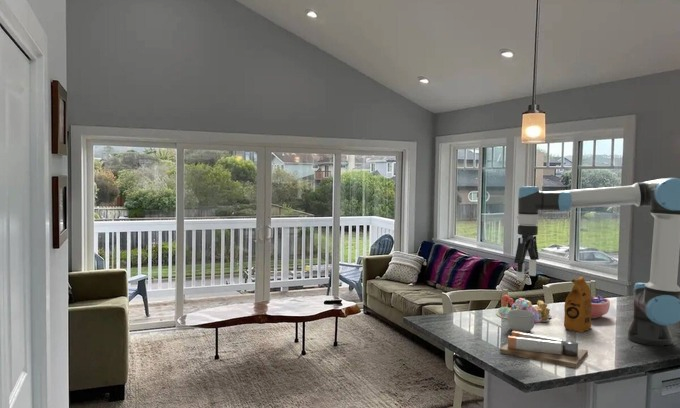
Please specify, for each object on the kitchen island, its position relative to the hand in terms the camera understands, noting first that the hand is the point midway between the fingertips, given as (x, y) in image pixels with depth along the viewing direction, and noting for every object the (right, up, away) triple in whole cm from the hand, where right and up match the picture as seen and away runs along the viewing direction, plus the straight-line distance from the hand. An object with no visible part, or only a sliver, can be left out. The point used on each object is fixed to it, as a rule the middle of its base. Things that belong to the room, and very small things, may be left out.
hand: (526, 277), depth 205 cm
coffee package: (+28, -25, +17) cm, 41 cm away
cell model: (+43, -24, +37) cm, 61 cm away
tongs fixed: (0, -24, -17) cm, 29 cm away
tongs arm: (-4, -24, -19) cm, 31 cm away
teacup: (+2, -25, +14) cm, 28 cm away
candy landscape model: (+12, -24, +37) cm, 45 cm away
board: (0, -25, -17) cm, 31 cm away
